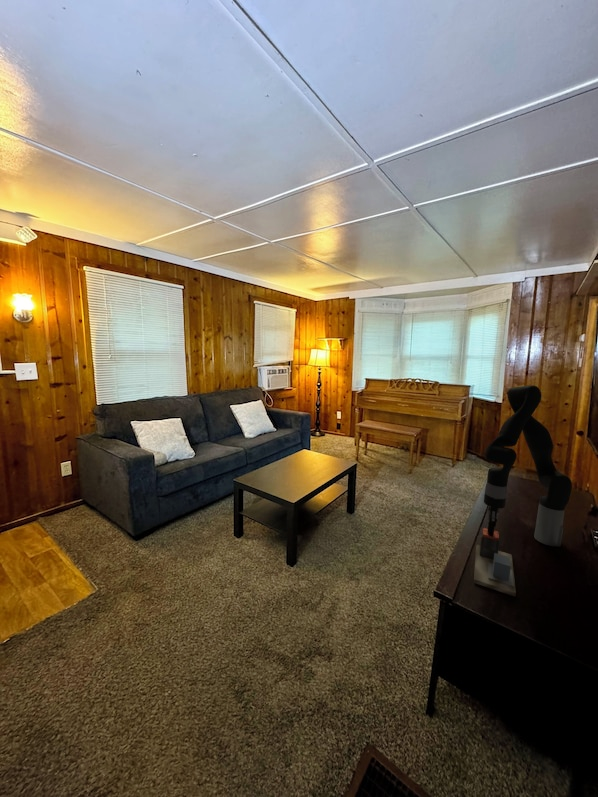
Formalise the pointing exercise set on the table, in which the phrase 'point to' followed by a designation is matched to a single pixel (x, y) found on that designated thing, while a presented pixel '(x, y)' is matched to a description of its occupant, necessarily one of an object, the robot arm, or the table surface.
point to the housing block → (501, 566)
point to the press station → (491, 567)
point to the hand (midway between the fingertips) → (490, 532)
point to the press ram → (491, 536)
